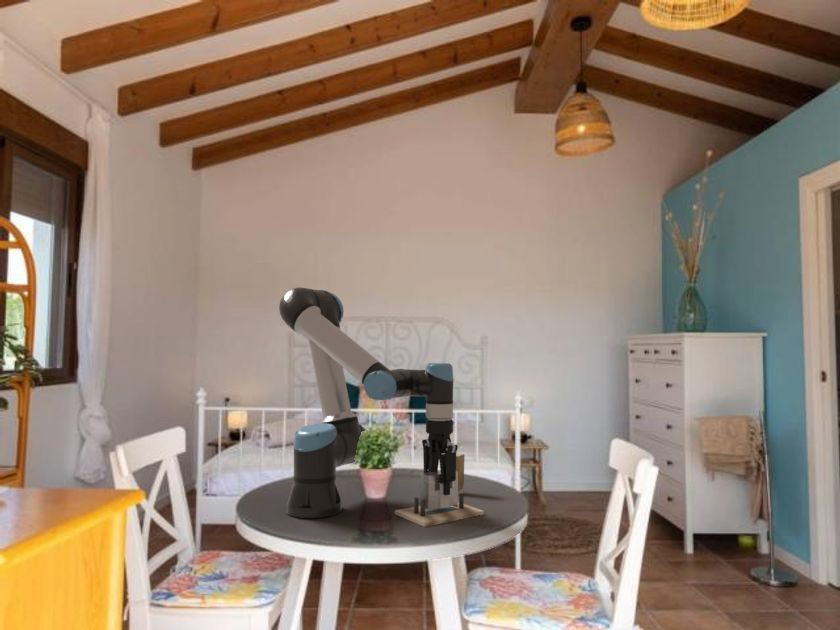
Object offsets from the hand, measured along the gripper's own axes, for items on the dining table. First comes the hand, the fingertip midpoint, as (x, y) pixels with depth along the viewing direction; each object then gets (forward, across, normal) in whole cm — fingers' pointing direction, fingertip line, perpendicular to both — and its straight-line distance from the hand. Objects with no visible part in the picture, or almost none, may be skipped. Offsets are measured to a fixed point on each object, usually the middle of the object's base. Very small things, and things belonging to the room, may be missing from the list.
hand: (439, 504), depth 163 cm
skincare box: (+3, +17, -18) cm, 25 cm away
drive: (0, 0, 0) cm, 0 cm away
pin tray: (+3, 0, 0) cm, 3 cm away
